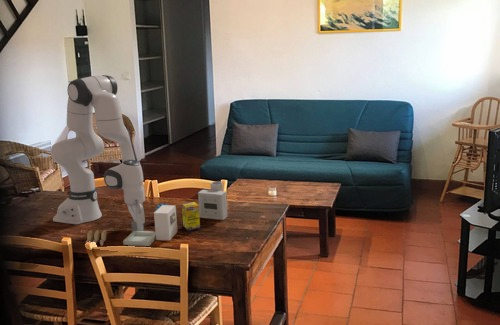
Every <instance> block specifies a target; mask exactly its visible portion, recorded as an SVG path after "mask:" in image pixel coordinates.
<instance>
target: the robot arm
mask: <svg viewBox="0 0 500 325" xmlns="http://www.w3.org/2000/svg"><path fill="white" fill-rule="evenodd" d="M117 94H118V83H117V81H116V80H115V77H112V76H111V75H107V74H105V75H91V76H88V77H87V76H86V77H82V78H75V79H73V80H72V81H70V82H69V83H68V85H67V95H68V99H67V103H66V104H67V105H66V126H67V127H68V129H69V130H70V131H72V132H75V134H76V135H75V137H71V138H67V139H63V140H60V141H58V142H56V143H54V144H52V146H51V149H50V156H51V159H52V161H54V162H55V163H56V164H57V165H60V166H61V167H62V168H63V169H64V170H65V171H66V174H67V177H68V181H69V187H70V188H69V189H70V190H67V192H66V193H65V194H66V196H68V197H67V198H66V199H65V200H64V201H63V202H62V203H60V204H59V206H58V207H57V211H56V212H57V213H56V214H55V215H54V216H53V218H52V222H56V223H64V224H71V225H79V224H80V225H81V224H84V223H89V222H93V221H95V220H98V219H100V218H101V217H102V215H103V214H102V211H101V209H100V206H99V203H98V194H97V188H96V184H95V182H96V181H95V175H94V171H92V170H91V169H90V168H89V167H85V166H83V161H85V160H89V159H90V160H91V159H93V158H96V157H98V156H100V155H102V154H103V152H104V150H105V149H104V148H105V143H104V140H103V139H102V137H103V138H105V139H107V140H110V141H114V142H116V143H117V144H118V146H119V149H120V152H121V156H122V162H121V163H120V164H118V165H116V166H113V167H110V168H108V169H106V170H105V171H104V174H103V181H104V183H105V185H106V187H107V188H109V189H111V190H119V189H122V190H123V198H124V203H125V204H126V206H127V209H128V212H129V213H130V215H131V217H132V220H133V219H134V220H135V222H136V224H137V230H141V229H142V228H141V225H142V224H143V225H144V224H145V222H146V219H145V211H144V210H145V209H144V206H143V203H144V202H145V201H146V194H145V193H146V192H145V187H144V172H143V167H142V165H141V163H140V161H138V159H137V154H136V151H135V146H134V143H133V140H132V139H133V138H132V136H131V133H130V131H129V130H128V129H127V128H126V126H125V124H124V123H125V122H124V120H123V113H122V108H121V105H120V101H119V98H118V96H117ZM93 114H95V115H93ZM93 117H95V123H96V130H97V132H98V133H99V135H100V136H101V137H100V136H99V135H98V134H96V132H95V130H94V125H93V124H94V123H93Z"/></svg>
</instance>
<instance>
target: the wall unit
mask: <svg viewBox="0 0 500 325" xmlns="http://www.w3.org/2000/svg"><path fill="white" fill-rule="evenodd" d="M176 207H177V206H176V205H171V204H167V205H165V204H163V205H162V206H160V208H159V209H158V210H157V211H156V210H155V211H154V212H153V217H154V230H155V231H154V232H156V240H155V241H171V239H173V237H174V236H175V235H176V234H177V233H178V220H177V218H178V217H177V208H176Z"/></svg>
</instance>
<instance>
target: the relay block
mask: <svg viewBox="0 0 500 325" xmlns="http://www.w3.org/2000/svg"><path fill="white" fill-rule="evenodd" d="M130 225H131V226H130V227H131V233H132V232H133V231H145V227H144V223H143V224H142V225H141V228H142V229H141V230H137V224H136V222H135V220H134V219H133V218H132V220H131V222H130Z"/></svg>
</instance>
